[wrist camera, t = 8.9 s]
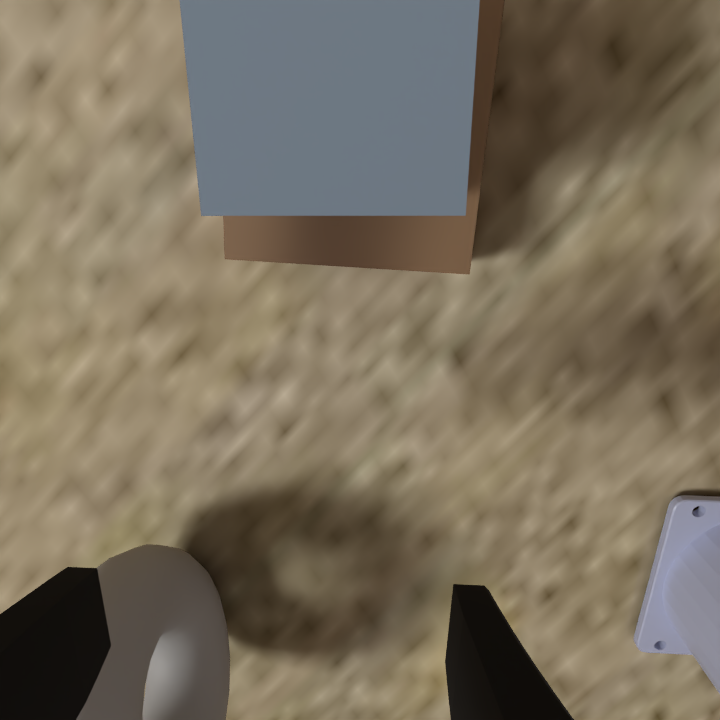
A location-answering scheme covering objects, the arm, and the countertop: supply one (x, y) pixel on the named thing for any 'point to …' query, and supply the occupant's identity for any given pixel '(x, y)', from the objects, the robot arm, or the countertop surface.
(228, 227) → the walnut block
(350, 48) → the grey block
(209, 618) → the donut
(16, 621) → the robot arm
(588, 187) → the countertop surface
